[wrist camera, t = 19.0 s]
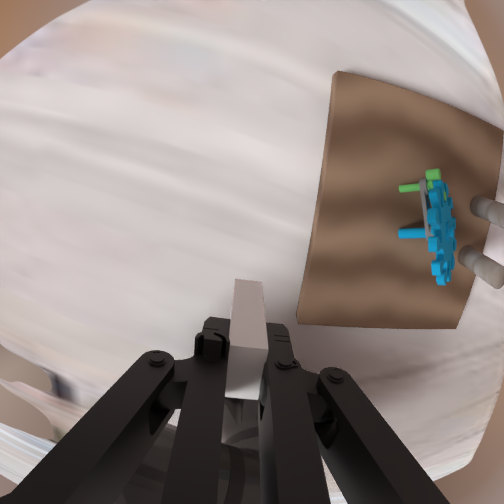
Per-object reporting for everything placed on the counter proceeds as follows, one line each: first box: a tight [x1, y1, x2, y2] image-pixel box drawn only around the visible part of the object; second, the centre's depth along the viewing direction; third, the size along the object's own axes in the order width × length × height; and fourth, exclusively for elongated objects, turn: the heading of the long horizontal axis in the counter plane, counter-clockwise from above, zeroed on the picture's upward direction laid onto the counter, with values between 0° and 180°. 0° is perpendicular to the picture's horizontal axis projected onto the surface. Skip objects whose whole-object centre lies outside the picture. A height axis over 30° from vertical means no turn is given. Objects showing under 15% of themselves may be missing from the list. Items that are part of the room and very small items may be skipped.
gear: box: [398, 168, 457, 285], centre depth 27 cm, size 11×6×10 cm
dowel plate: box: [296, 71, 504, 329], centre depth 27 cm, size 26×22×9 cm
